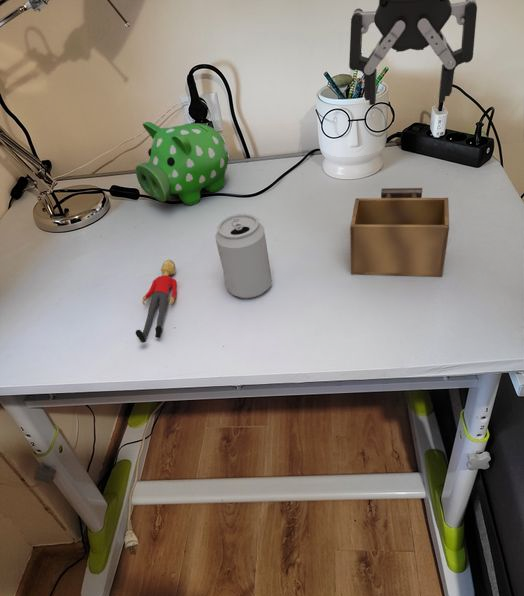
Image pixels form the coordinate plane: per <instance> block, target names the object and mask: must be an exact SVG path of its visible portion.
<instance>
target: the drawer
mask: <svg viewBox="0 0 524 596" xmlns="http://www.w3.org/2000/svg"><path fill="white" fill-rule="evenodd" d="M449 206H450V204H449V197H423V187H388V188H387V187H386V188H385V187H383V188H381V190H380V197H375V198H372V197H371V198H370V197H367V198H365V197H364V198H363V197H362V198H361V197H360V198H359V197H358V198H355V199H354V204H353V209H352V214H351V215H352V216H351V221H350V226H349V228H350V229H349V231H350V233H349V235H350V236H349V237H350V238H349V239H350V240H349V241H350V242H349V243H350V244H349V245H350V275H363V276H364V275H365V276H395V277H397V276H399V277H433V278H442V277H443V275H444V267H445V261H446V254H447V246H448V239H449V233H450V210H449V209H450V207H449Z"/></svg>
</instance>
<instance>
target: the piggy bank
mask: <svg viewBox="0 0 524 596" xmlns="http://www.w3.org/2000/svg"><path fill="white" fill-rule="evenodd" d="M142 126H143V128H144V129H145V131H146V132H147V133H148V135H150V137H151V139H152V143H151V147H150V148H149V149H148V150H147V154H148V156H149V159H148V161H146V162H142V163H139V164H137V165H135V166H136V167H135V175H136V178H137V182H138V184H139V186H140V187H141V189H142V191H144V192H145V194H147V195H148V196H149V197H152V198H154V199H156V200H157V201H159V202H161V203H165V202H166V201H167V200H168V199H169V198H170V197H172V198H176V197H179V199H180V201H181V202H182V203H184V204H185V205H186V206H193V205H196V204H198V203H199V202H200V199H201V190H202V189H204V190H206V191H207V192H209V193H216V192H219V191H221V190H222V189H223V188H224V185H225V184H226V171H227V169H228V164H229V153H228V152H229V151H228V148H227V144H226V142H225V140H224V138H223V136H222V135H221V133H219V132H218V130H216V129H214V128H213V127H211V126H209V125H206V124H203V123H184V124H181V125H176V126H166V127H159V126H158V125H157V124H155V123H153V122H151V121H145V122H142Z"/></svg>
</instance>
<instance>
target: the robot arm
mask: <svg viewBox="0 0 524 596" xmlns="http://www.w3.org/2000/svg"><path fill="white" fill-rule="evenodd" d="M477 15H478V6H477V1H476V0H464V1H460V2H454V3H451V1H450V0H378V6H377V8H376V10H373V11H368V10H367V11H363V9H361V8H356V9H355V10H353V13H352V16H351V19H350V38H349V57H348V58H349V59H348V60H349V62H348V66H349V69H350V71H358V72H361V73H362V74H363V83H364V85H363V91H364V92H363V97H364V100H365V101H369V104H368V105H369V106H375V105H376V102H377V77H378V76H377V75H378V74H377V73H378V72H377V71H378V69H377V67H378V66H379V65H380V64H381V62H382V61H383V60H384V59H385V57H386V56H387V54H388V53H389V52H390V50H394V51H395V52H396V53H399V52H405V51H408V50H414V51H424V50H425V48H428V47H429V46H430V48H431V49H432V50H433V52H434V54H435V55H436V56H437V57H438V59H439V60H440V61H441V63H442V64H441V71H440V80H439V88H438V89H439V90H438V102H439V103H441V102H445V101H446V97H450V96H451V94H452V92H453V84H454V75H455V70H456V68H457V67H458V66H459V65H462V64H464V63H465V64H468V63H470V62H471V61H472V60H473V58H474V50H475V49H474V48H475V36H476V27H477ZM451 16H453V17H455V19H456V24H457V25H459V26H462V31H461V32H462V33H461V34H462V35H461V46H460V47H461V48H458V49H456V50H454V49H453V48H452V47H451V45H450V44H449V42H448V41H447V38H446V36H445V35H444V34H443V31H442V29H443V28H444V26H445V25H446V24H447V23H448V21H449V19H450V18H451ZM371 24H374V25H375V27H376V28H377V30H378V31H379V33H380V34H381V37H380V39H379V40H378V41H377V43H376V44H375V46H374V48H373V50H372V52H371V53H370V54H369V56H368V57H366V56H363V55H362V46H363V35H364V34H367V33H368V31H369V28H370V26H371Z"/></svg>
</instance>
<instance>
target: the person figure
mask: <svg viewBox="0 0 524 596" xmlns="http://www.w3.org/2000/svg"><path fill="white" fill-rule="evenodd" d="M160 272H161V273H162V275H159V276H158V277H156V278H155V279H153V280H152V282H151V283H152V284H151V285H150V287H149V289H148V291H147V292H146V294H145V295H144V296H143V297H142V300H141V303H142V304H143V305H146V303H145V301H147V300H148V299H149V298H150V297H151V298H150V301H149V306H148V310H147V316H146V320H145V324H144V327H143V329H142V330H141V329H136V330H135V336H136V337H137V338H138V339H139V341H140V342H141V343H145V342H146V340H147V338H148V335H149V332H150V329H151V327H152V323H153V319H154V315H155V312H156V309H157V307H158V314H157V320H156V327H155V328H154V329H155V335H154V337H155V338H156V339H160V338H161V335H162V333H163V323H164V318H165V313H166V308H167V305H173V304H174V302H175V300H176V297H177V286H178V285H177V284H178V282H177V279H175V278H173V277H172V276H173V275H175V274H176V264H175V262H174V261H173V260H171V259H166V260H165V261H164V262H163V263H162V266H161V269H160ZM170 288H171V296H170V297H169V292H170ZM168 300H169V303H168Z"/></svg>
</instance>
